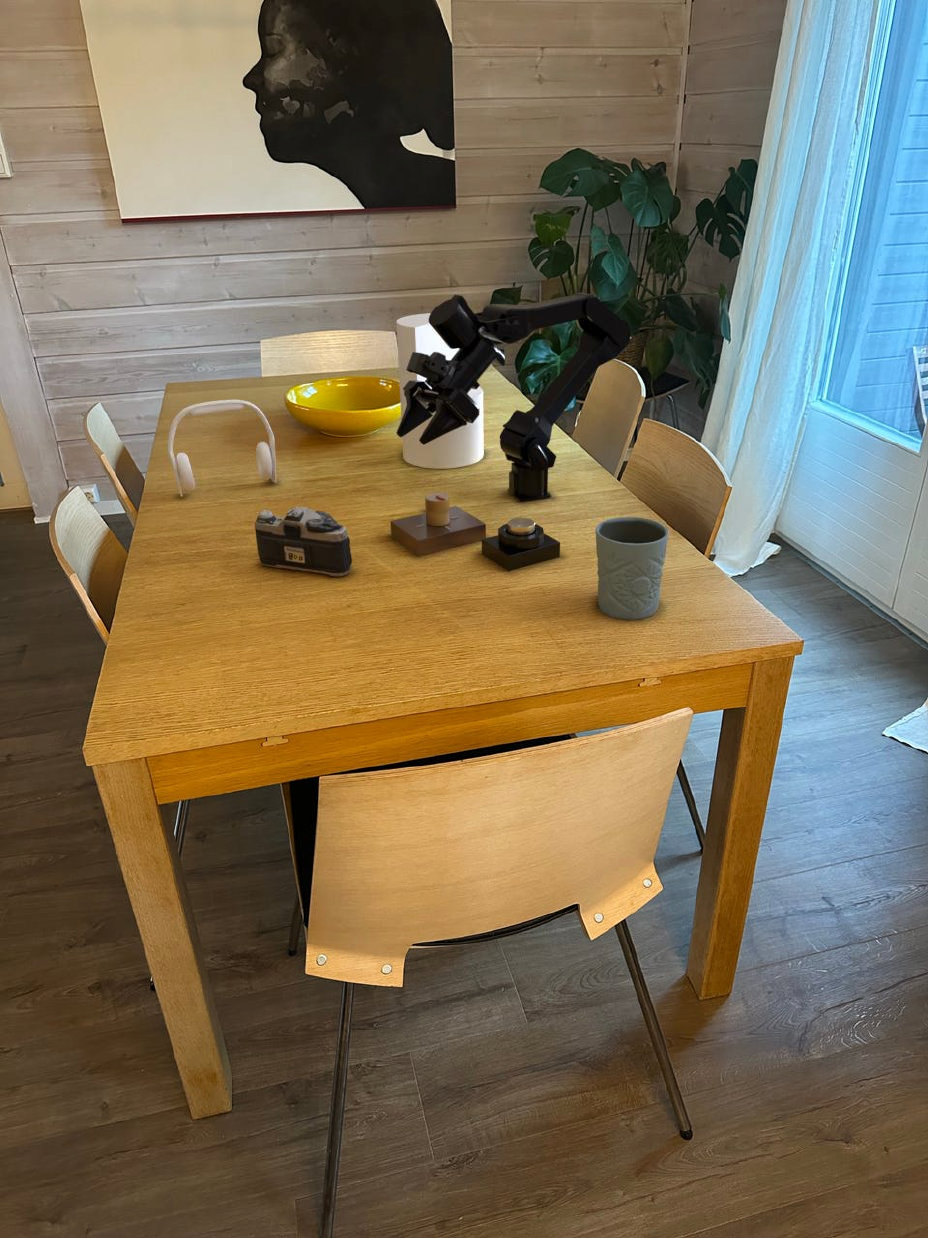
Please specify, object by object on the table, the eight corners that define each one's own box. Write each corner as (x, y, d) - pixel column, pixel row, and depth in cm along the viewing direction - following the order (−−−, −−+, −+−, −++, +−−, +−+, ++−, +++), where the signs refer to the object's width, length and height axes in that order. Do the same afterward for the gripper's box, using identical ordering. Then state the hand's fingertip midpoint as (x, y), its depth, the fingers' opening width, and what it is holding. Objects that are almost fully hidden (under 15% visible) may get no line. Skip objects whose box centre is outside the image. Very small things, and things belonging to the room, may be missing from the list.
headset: (178, 504, 170) (161, 411, 162) (174, 492, 176) (158, 402, 167) (283, 489, 177) (272, 399, 168) (276, 478, 182) (265, 390, 174)
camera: (370, 555, 148) (366, 497, 144) (342, 581, 140) (337, 521, 135) (285, 543, 153) (278, 487, 148) (253, 568, 145) (245, 509, 140)
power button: (524, 525, 148) (524, 515, 147) (539, 534, 145) (540, 524, 144) (502, 531, 146) (502, 521, 145) (517, 540, 143) (517, 529, 142)
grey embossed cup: (645, 628, 125) (652, 549, 120) (579, 611, 130) (583, 534, 124) (671, 599, 133) (679, 524, 127) (608, 584, 138) (613, 510, 132)
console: (456, 521, 161) (455, 504, 159) (486, 540, 153) (486, 522, 152) (391, 537, 155) (390, 519, 154) (418, 557, 147) (418, 539, 146)
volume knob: (421, 521, 153) (420, 494, 151) (440, 515, 155) (440, 489, 153) (434, 528, 150) (433, 501, 148) (454, 522, 152) (453, 495, 150)
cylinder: (386, 460, 191) (378, 323, 178) (432, 439, 204) (427, 310, 191) (455, 473, 183) (452, 331, 170) (498, 450, 196) (498, 316, 183)
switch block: (531, 541, 153) (532, 516, 150) (559, 557, 147) (560, 531, 144) (481, 554, 148) (481, 528, 146) (508, 571, 142) (508, 545, 140)
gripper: (411, 331, 156) (355, 401, 155) (461, 335, 140) (399, 413, 139) (452, 376, 162) (399, 443, 161) (505, 384, 147) (446, 459, 146)
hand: (409, 439), depth 152 cm, fingers open, 9 cm apart
